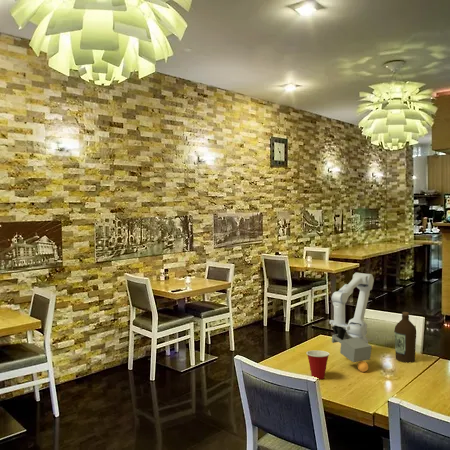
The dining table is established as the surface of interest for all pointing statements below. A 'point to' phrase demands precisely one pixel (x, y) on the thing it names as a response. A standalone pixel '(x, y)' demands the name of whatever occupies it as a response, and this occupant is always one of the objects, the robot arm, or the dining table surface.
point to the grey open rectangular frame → (353, 348)
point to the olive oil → (405, 339)
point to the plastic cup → (318, 363)
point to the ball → (362, 366)
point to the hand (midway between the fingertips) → (339, 340)
